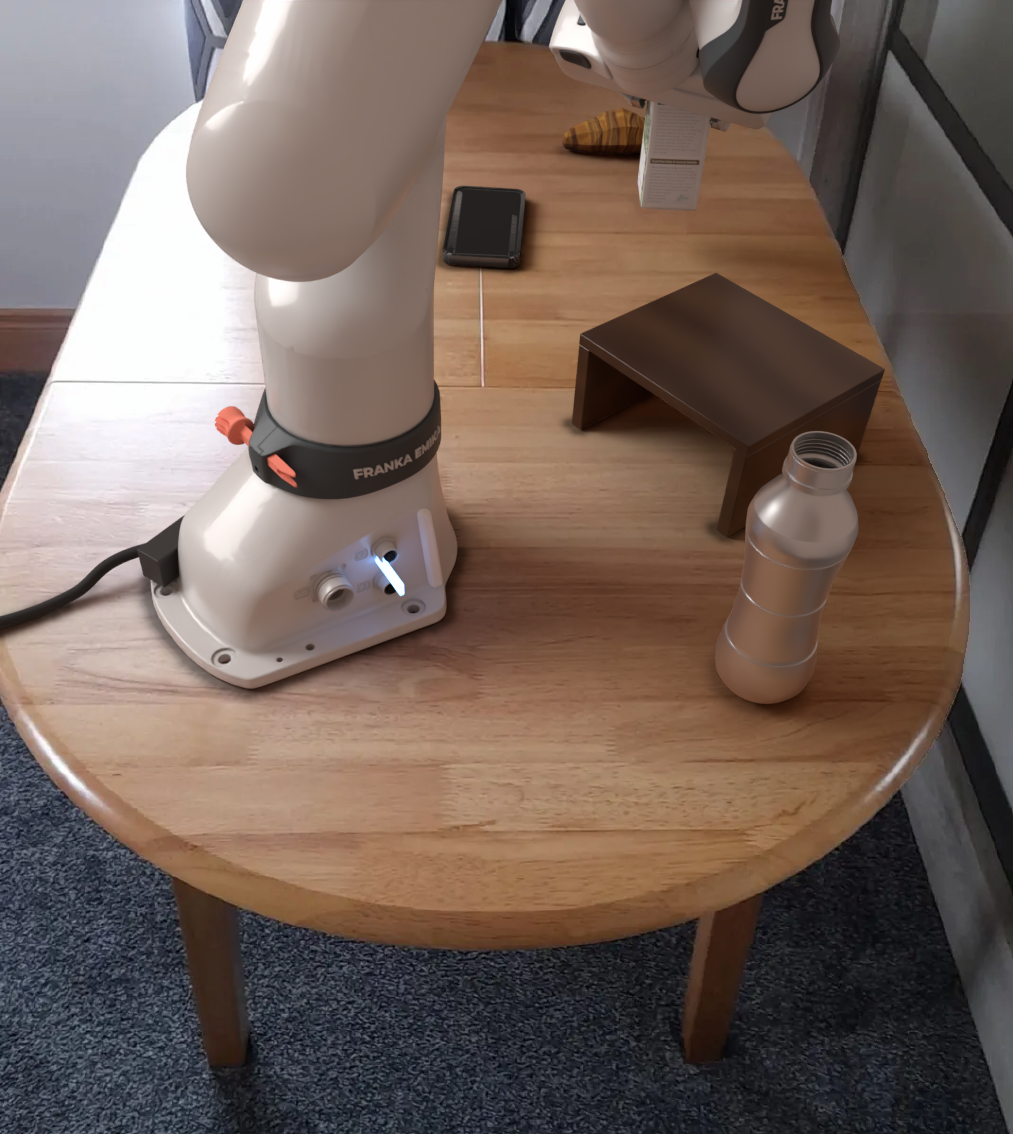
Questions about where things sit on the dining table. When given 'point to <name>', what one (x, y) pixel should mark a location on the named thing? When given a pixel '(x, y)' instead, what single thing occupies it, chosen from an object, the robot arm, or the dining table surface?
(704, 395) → the shelf
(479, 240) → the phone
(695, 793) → the dining table surface
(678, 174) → the syrup box
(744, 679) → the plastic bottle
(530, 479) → the dining table surface
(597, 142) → the croissant
